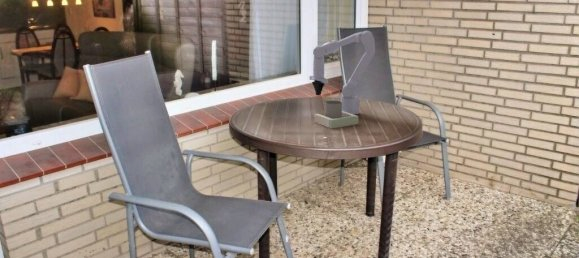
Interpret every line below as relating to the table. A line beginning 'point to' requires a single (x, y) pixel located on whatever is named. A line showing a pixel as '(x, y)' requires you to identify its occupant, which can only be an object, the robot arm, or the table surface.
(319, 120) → the stall
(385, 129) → the table surface
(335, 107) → the cup
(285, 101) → the table surface
